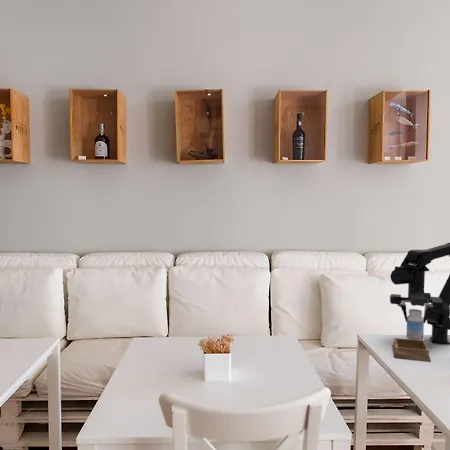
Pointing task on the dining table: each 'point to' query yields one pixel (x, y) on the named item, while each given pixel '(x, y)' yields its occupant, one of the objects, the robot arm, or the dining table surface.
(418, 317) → the pill bottle
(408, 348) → the walnut socket
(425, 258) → the robot arm
